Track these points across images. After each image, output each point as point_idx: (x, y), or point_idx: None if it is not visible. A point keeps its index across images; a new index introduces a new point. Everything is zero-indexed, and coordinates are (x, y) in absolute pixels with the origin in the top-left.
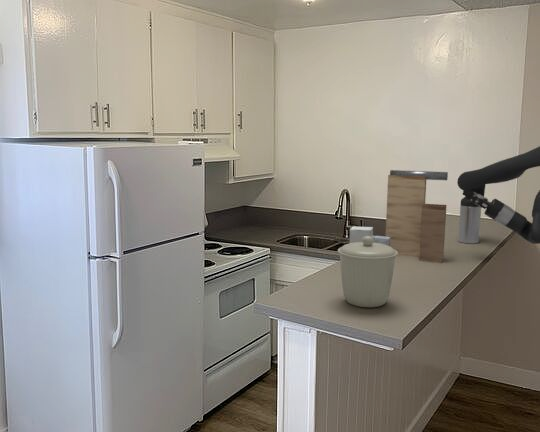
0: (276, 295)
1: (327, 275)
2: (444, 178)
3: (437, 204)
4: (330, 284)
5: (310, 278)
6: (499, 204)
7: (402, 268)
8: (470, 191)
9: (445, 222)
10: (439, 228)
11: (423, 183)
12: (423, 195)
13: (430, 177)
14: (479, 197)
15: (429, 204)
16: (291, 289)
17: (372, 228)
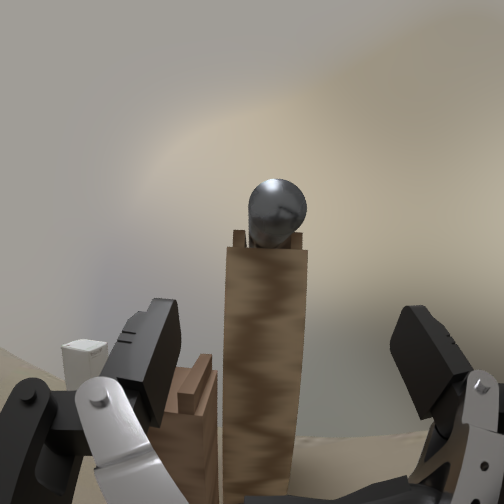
0: (7, 353)
1: (56, 386)
2: (251, 222)
3: (197, 374)
4: (18, 379)
5: (49, 375)
6: None
7: None
8: (431, 355)
9: (203, 481)
10: None
11: (227, 262)
12: (224, 319)
13: (250, 232)
14: (101, 474)
15: (195, 362)
16: (18, 360)
17: (80, 351)
